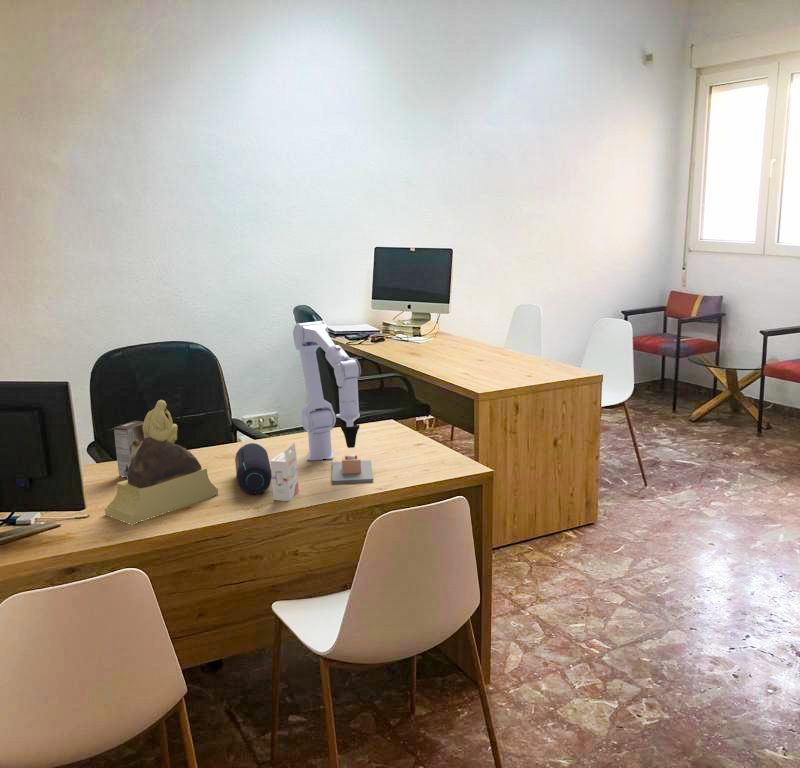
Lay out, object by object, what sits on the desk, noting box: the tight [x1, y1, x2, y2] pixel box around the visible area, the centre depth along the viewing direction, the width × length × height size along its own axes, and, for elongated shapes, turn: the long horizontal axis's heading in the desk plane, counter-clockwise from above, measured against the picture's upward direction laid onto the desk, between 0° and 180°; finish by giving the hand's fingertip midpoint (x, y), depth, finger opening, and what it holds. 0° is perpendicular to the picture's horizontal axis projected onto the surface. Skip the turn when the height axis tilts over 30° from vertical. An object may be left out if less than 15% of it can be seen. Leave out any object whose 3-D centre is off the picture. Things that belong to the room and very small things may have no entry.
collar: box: [341, 454, 362, 474], centre depth 252 cm, size 6×6×4 cm
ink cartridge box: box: [269, 442, 300, 502], centre depth 233 cm, size 9×5×15 cm, turn 168°
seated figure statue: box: [104, 399, 219, 525], centre depth 228 cm, size 28×13×30 cm, turn 140°
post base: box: [331, 454, 374, 485], centre depth 252 cm, size 18×12×6 cm, turn 4°
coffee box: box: [112, 420, 149, 477], centre depth 257 cm, size 9×6×16 cm
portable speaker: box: [234, 442, 272, 495], centre depth 246 cm, size 25×10×10 cm, turn 12°
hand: (350, 443), depth 250 cm, fingers open, 7 cm apart
